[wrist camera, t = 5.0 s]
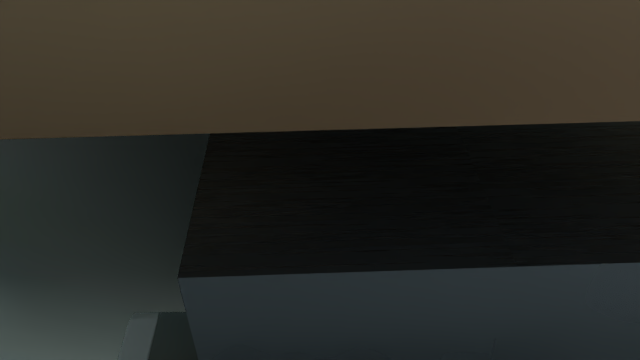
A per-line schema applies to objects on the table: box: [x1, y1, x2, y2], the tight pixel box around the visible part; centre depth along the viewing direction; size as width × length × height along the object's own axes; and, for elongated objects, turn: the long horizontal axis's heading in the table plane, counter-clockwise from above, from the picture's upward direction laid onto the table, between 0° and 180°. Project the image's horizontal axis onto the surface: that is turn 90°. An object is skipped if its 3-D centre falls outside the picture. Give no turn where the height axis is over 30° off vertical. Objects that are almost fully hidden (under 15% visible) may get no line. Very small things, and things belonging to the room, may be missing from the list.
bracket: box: [177, 121, 640, 360], centre depth 9 cm, size 7×7×5 cm
